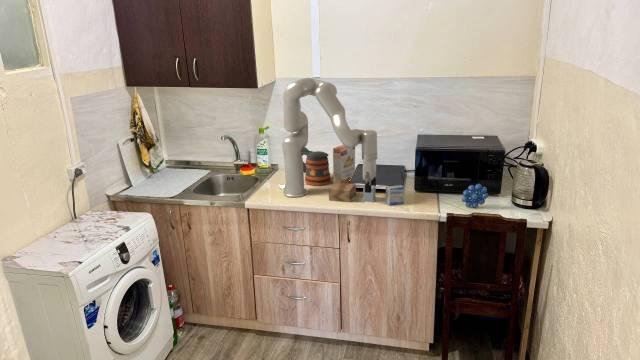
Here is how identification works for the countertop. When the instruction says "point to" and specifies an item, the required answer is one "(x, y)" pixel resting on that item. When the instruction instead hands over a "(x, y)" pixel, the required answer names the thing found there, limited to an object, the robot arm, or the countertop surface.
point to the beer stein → (316, 168)
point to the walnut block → (342, 192)
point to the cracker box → (343, 164)
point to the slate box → (369, 195)
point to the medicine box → (394, 195)
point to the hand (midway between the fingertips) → (370, 189)
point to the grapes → (475, 195)
